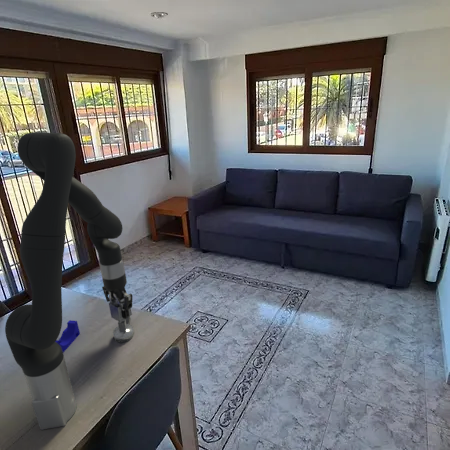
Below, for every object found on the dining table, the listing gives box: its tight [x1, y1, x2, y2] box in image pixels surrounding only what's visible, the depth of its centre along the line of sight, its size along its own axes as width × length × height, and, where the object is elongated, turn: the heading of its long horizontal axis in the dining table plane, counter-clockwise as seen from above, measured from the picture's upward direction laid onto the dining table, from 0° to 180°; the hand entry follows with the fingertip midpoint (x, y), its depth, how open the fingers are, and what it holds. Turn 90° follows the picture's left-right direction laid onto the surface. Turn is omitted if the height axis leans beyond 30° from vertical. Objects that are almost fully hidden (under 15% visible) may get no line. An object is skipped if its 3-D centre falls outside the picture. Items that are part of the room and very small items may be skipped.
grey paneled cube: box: [108, 299, 133, 322], centre depth 112 cm, size 5×5×6 cm
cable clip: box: [55, 319, 81, 354], centre depth 111 cm, size 12×4×6 cm, turn 171°
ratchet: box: [112, 316, 135, 343], centre depth 117 cm, size 14×7×6 cm, turn 10°
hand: (121, 314), depth 113 cm, fingers closed on grey paneled cube, 5 cm apart
